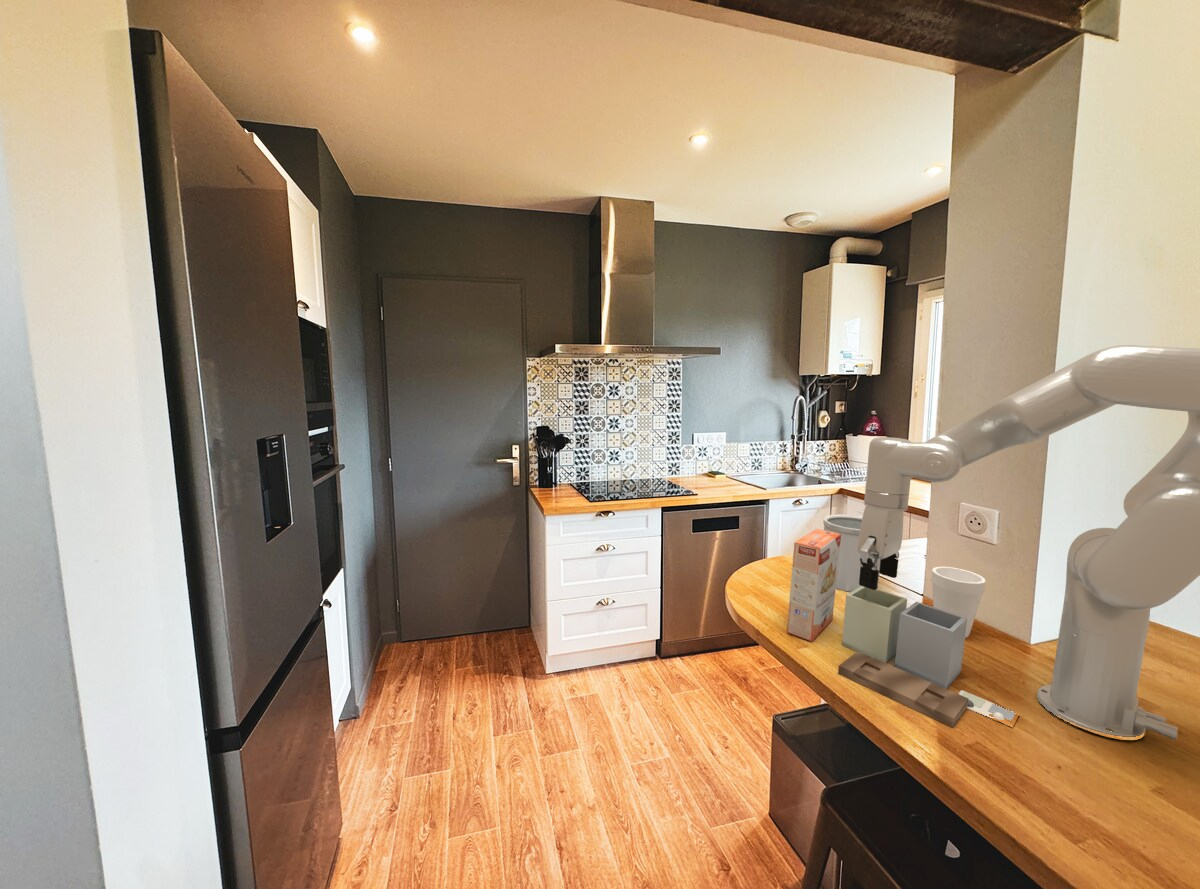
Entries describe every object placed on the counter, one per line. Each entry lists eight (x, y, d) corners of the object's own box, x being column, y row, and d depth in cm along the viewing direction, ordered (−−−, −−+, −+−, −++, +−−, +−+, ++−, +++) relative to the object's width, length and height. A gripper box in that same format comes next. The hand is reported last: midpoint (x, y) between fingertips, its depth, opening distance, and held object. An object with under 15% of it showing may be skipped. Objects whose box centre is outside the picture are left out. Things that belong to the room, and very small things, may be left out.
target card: (1019, 717, 79) (1020, 709, 79) (1012, 730, 76) (1013, 722, 76) (961, 692, 85) (962, 685, 85) (952, 704, 82) (953, 696, 82)
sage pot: (902, 649, 98) (907, 598, 97) (885, 663, 93) (890, 610, 92) (859, 632, 105) (863, 584, 103) (841, 644, 100) (846, 594, 98)
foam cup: (989, 639, 103) (996, 582, 101) (954, 643, 101) (962, 585, 99) (948, 618, 112) (954, 565, 110) (916, 621, 110) (922, 568, 108)
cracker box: (814, 643, 100) (821, 547, 97) (785, 633, 104) (792, 540, 101) (835, 620, 110) (842, 532, 107) (808, 611, 114) (814, 527, 112)
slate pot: (960, 672, 91) (967, 617, 89) (946, 689, 85) (953, 631, 84) (910, 652, 97) (916, 601, 96) (894, 667, 92) (900, 613, 90)
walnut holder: (967, 707, 81) (968, 698, 81) (952, 727, 76) (953, 718, 76) (856, 658, 95) (857, 651, 94) (838, 673, 90) (838, 665, 89)
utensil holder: (823, 589, 127) (828, 526, 124) (815, 569, 141) (820, 511, 139) (885, 598, 122) (892, 532, 120) (871, 576, 137) (876, 516, 134)
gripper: (883, 490, 103) (876, 566, 105) (846, 501, 93) (839, 585, 95) (923, 497, 98) (914, 577, 100) (889, 510, 87) (880, 599, 89)
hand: (878, 581), depth 97 cm, fingers open, 9 cm apart
